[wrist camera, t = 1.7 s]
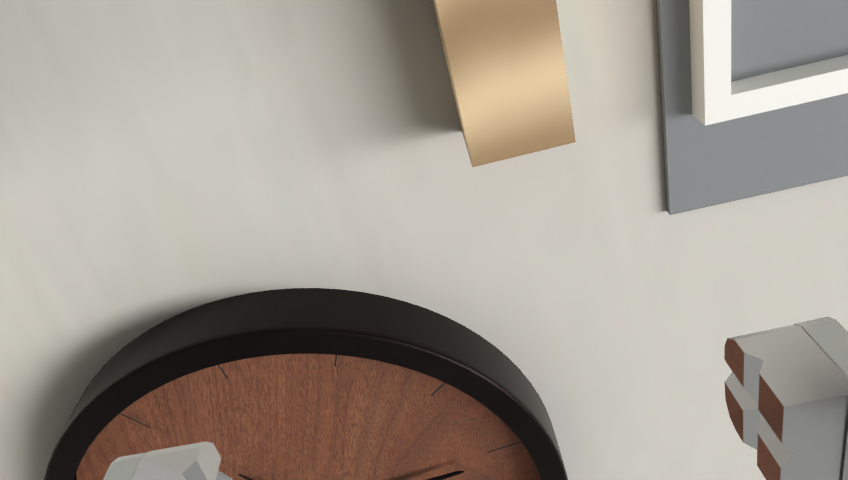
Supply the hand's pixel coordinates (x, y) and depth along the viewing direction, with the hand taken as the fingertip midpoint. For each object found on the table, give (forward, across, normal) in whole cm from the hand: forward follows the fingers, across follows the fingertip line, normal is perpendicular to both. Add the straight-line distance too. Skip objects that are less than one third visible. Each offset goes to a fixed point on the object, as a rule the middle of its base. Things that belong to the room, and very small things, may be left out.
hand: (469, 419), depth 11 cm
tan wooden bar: (+24, -4, -2) cm, 24 cm away
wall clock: (+25, +12, +26) cm, 38 cm away
